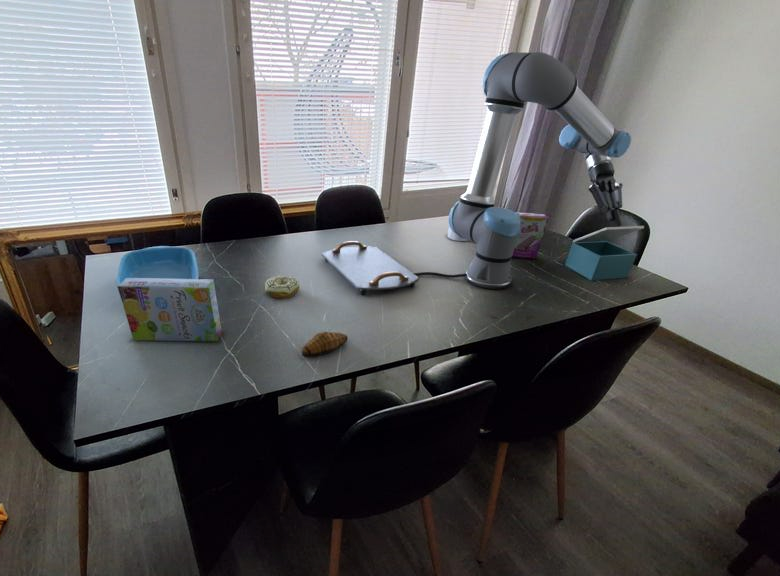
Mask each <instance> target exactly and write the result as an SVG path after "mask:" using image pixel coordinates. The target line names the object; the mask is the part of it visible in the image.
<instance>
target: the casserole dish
mask: <svg viewBox="0 0 780 576" xmlns="http://www.w3.org/2000/svg"><path fill="white" fill-rule="evenodd" d="M125 278H159V279H200V272H199V266H198V261H197V257H196V254H195V252H194V251H193V250H192V249H191V248H188V247H183V246H169V245H159V246H158V245H157V246H152V247H150V246H149V247H144V248H142V249H136V250H132V251H129V252H127V253H125V254H124V255H123V256H122V257H121V258H120V262H119V266H118V269H117V274H116V278H115V279H116V280H115V285H116V288H118V286H119V285H120V284H121V283H122V282H123V281H124V280H125Z"/></svg>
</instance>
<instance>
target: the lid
mask: <svg viewBox="0 0 780 576" xmlns="http://www.w3.org/2000/svg"><path fill="white" fill-rule="evenodd" d="M643 229H645V225H631V226H629V225H628V226H621V227H611V226H608V227H604V228H601V229H599V230H596V231H594V232H591V233H588V234H586V235H583V236H581V237H578V238H575V239H573V240H572V243H579V242H599V241H608V242H610V241H612V240H615V239H617V238H620V237H623V236H625V235H628V234H631V233H635V232H637V231H640V230H643Z"/></svg>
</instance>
